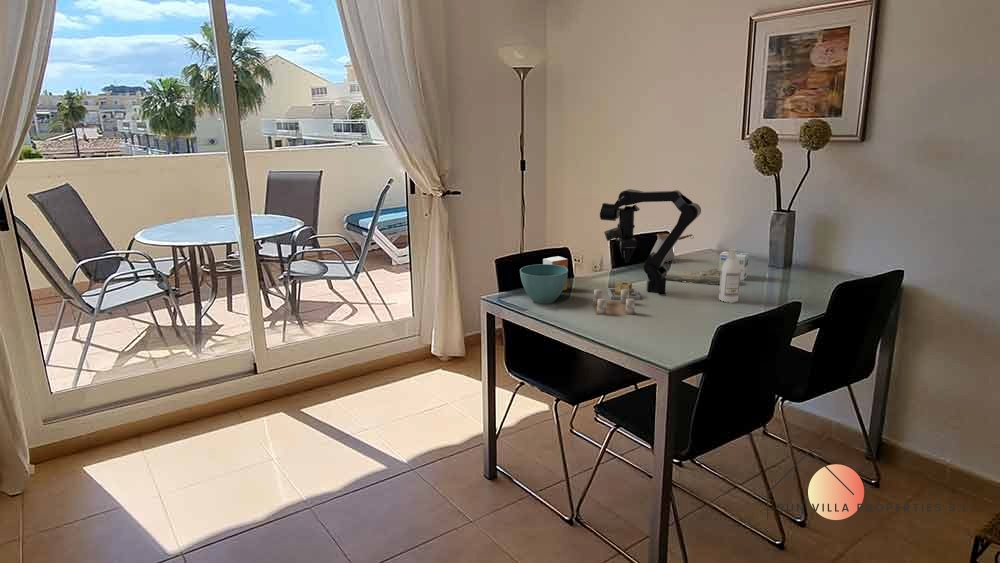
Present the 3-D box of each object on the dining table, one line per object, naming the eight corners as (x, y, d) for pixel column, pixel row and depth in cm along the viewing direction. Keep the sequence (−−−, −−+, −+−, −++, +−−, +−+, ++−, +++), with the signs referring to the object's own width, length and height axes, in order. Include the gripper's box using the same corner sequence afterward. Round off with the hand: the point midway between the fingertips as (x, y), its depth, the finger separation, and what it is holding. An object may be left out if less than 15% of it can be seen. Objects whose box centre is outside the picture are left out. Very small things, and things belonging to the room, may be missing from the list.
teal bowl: (533, 310, 227) (533, 277, 224) (512, 297, 243) (512, 267, 240) (576, 303, 234) (576, 272, 231) (553, 291, 250) (553, 262, 247)
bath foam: (742, 301, 234) (746, 249, 229) (728, 304, 231) (732, 251, 226) (728, 296, 240) (732, 246, 235) (714, 299, 237) (718, 248, 232)
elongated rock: (655, 277, 275) (651, 284, 266) (655, 266, 274) (651, 272, 265) (739, 280, 262) (738, 287, 253) (740, 268, 260) (739, 275, 252)
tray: (635, 293, 246) (635, 288, 246) (640, 301, 236) (640, 296, 235) (607, 293, 247) (607, 288, 246) (610, 301, 236) (611, 296, 236)
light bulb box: (747, 277, 267) (749, 253, 264) (743, 281, 262) (746, 256, 259) (721, 274, 273) (723, 250, 270) (717, 278, 267) (719, 253, 264)
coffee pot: (644, 260, 299) (646, 230, 295) (658, 257, 306) (660, 227, 302) (683, 268, 284) (686, 236, 280) (697, 264, 291) (699, 232, 287)
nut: (630, 293, 244) (630, 281, 242) (632, 297, 238) (633, 285, 237) (614, 293, 244) (614, 281, 243) (615, 297, 239) (616, 285, 237)
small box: (551, 293, 248) (552, 261, 245) (542, 289, 253) (542, 258, 250) (567, 289, 253) (568, 258, 249) (557, 286, 258) (558, 255, 254)
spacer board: (629, 303, 234) (629, 288, 232) (636, 317, 218) (637, 301, 217) (591, 303, 234) (592, 288, 233) (596, 317, 219) (596, 301, 217)
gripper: (603, 218, 255) (602, 255, 259) (609, 226, 237) (607, 265, 241) (630, 217, 254) (628, 254, 258) (638, 225, 236) (636, 265, 240)
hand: (624, 260), depth 250 cm, fingers open, 9 cm apart
